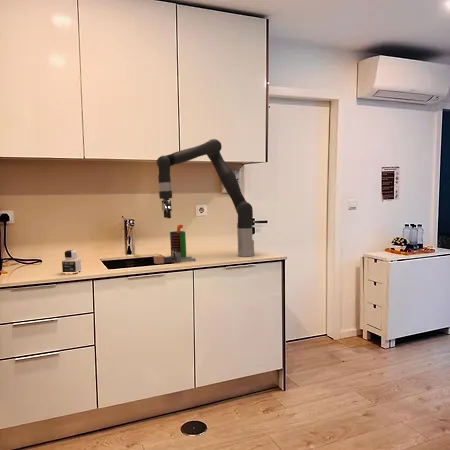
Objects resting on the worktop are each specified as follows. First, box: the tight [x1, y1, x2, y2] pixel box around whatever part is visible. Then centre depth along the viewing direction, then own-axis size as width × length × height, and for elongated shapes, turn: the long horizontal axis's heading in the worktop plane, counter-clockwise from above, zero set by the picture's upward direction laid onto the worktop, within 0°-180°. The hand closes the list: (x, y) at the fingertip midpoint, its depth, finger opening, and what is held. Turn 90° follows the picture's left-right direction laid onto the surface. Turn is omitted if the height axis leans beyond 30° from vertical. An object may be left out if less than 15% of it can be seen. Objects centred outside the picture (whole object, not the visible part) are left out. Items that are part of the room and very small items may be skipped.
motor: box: [169, 224, 187, 257], centre depth 262 cm, size 10×9×20 cm
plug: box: [153, 254, 174, 265], centre depth 242 cm, size 11×4×4 cm, turn 110°
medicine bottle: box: [61, 249, 82, 273], centre depth 218 cm, size 7×7×12 cm
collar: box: [172, 250, 196, 264], centre depth 246 cm, size 12×12×6 cm
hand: (167, 217), depth 245 cm, fingers open, 8 cm apart
